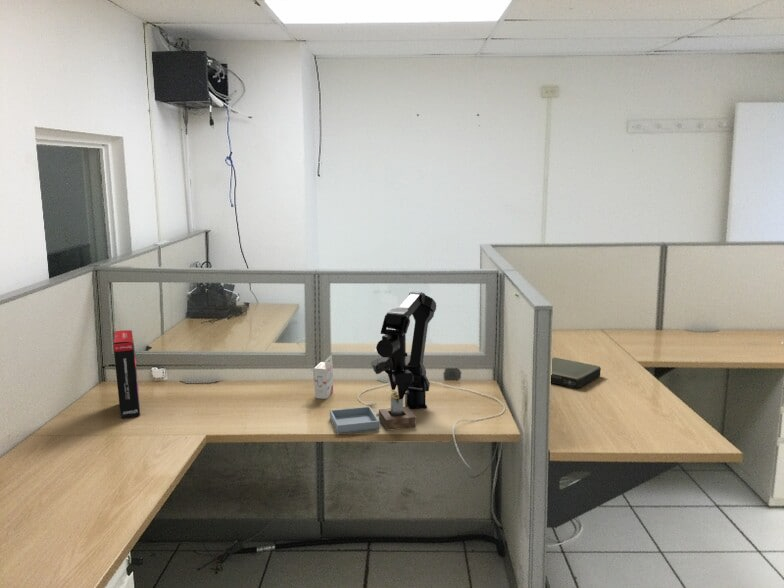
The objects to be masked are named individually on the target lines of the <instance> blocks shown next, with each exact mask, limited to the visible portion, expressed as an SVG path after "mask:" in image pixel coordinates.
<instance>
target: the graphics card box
mask: <svg viewBox="0 0 784 588" xmlns="http://www.w3.org/2000/svg"><path fill="white" fill-rule="evenodd" d="M134 342H135V340H134V334H133V330H131V329H130V330H129V329H128V330H124V329H123V330H114V331H113V332H112V346H113V347H112V348H113V356H114V366H115V376H116V385H117V386H116V387H117V395H118V404H119V412H120V418H121V419H125V418H132V417H133V418H134V417H140V416H141V405H140V392H139V381H138V370H137V362H136V361H137V360H136V352H135V344H134Z"/></svg>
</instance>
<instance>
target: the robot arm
mask: <svg viewBox="0 0 784 588" xmlns="http://www.w3.org/2000/svg"><path fill="white" fill-rule="evenodd" d="M436 310H437V302H436V301H435V300H434V299H433V298H432V297H430V296H428V295H427V294H425V293H424V292H421V291H413V290H412V291H410V292H409V293H408V296H407V297H406V299H404V300H403V302H402V303H401V304H400V305H399V306H398V307H396V308H392V309H390V310H388V311H387V312H386V314H385V316H384V317H383V322H382V326H381V331H380V334H381V335H382V336H381V340H379V341H377V345H376V347H375V348H376V352H377V354H378V356H380V357H379V358H376V359H374V360H373V361H371V362H370V364H371V367H372V369H373V372H374V373H375V375H380V374H381V373H382V372H385V373H386V374H387V377H388V380H389V384H390V388H391V390H392V391H395V390H396V388H397V393H398V395H399V399H403V400H404V403H405V405H406V407H408V408H409V410H413V409H414V410H415V409H423V408H424V409H425V408H428V405H427V404H426V394H427V393H426V392H429V391H430V386H431V385H430V381H429V379H428V377H427V370H426V367H425V365H424V357H425V350H426V349H425V348H426V342H427V341H426V340H427V334H428V329H429V328H428V327H429V326H428V325H429V323H430V321H431V320H432V319H433V318H434V315H435V312H436ZM411 316H412V317H413V320H414V326H413V327H414V328H413V333H412V334H413V336H412V340H411V341H412V343H411V349H410V357H409V361H408V363H407V364H406V362H407V359H406V358H407V357H408V352H407V351H406V349H407V348H406V347H407V345H406V344H407V343H406V341H407V339H406V338H407V337H406V336H407V335H406V334H407V333H408V329H409V326H410V323H411V319H410V318H411Z"/></svg>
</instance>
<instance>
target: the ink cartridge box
mask: <svg viewBox="0 0 784 588" xmlns="http://www.w3.org/2000/svg"><path fill="white" fill-rule="evenodd" d="M333 364H334V363H333V356H332V354H331V355H329V356H328V357H327V358H326V359H325V360H324V361H320V362H319V363H318V364H317V365H316V366H315V367H314V368H313V379H314V398H315V399H322V400H323V399H324V400H327V399H328V398H329V397H330V396H331V394H333V393H334V370H333V369H334V368H333V367H334V366H333Z"/></svg>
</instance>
